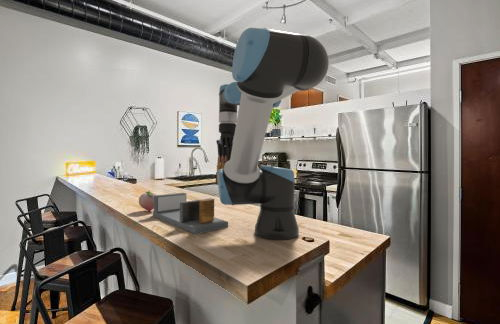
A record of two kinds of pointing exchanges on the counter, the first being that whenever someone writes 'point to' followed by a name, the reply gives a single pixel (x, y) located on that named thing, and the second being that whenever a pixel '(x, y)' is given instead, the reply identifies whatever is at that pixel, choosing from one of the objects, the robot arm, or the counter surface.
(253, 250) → the counter surface
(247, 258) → the counter surface
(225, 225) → the vise base
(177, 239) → the counter surface
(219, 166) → the ammunition clip
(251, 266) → the counter surface
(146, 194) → the decorative fruit
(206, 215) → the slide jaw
